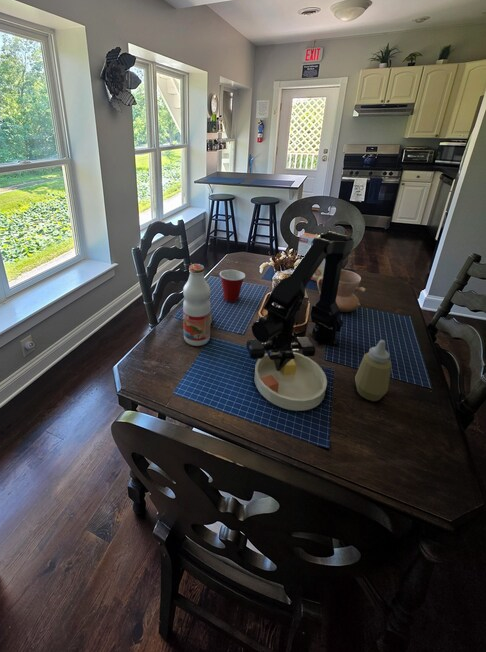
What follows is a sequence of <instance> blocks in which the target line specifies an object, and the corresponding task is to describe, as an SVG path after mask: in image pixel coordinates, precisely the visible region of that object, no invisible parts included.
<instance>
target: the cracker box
mask: <svg viewBox="0 0 486 652" xmlns="http://www.w3.org/2000/svg"><path fill="white" fill-rule="evenodd" d="M316 237H319V234H313V233H308V232H303V233H301V234H300V235H299V239H298V247H297V254H300V255H302V256H304V255H305V254H306V252H307V251H308V250H309V248H310V247H311V243H312V241H313V239H314V238H316ZM324 267H325V259H324V260H323V261H322V263H321V264H320V266H319V267H318V269H317V270H316V272H315V273H314V275H313V276H312V278H311V279H310V281H315V282H317V281H318V278H319V277H321V276H323V273H324ZM321 284H322V280H321Z"/></svg>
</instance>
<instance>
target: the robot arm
mask: <svg viewBox="0 0 486 652" xmlns="http://www.w3.org/2000/svg"><path fill="white" fill-rule="evenodd" d="M318 235H319V237H316V238H314V239H313V241H312V243H311V247H310V248H309V250H308V251H307V252H306V254H305V255H304V257H303V258H302V259H301V261H300V262H299V264H298V265H297V267H296V266H295V268H294V269H293V271H292V272H291V273H290V275H289V276H286V277H284V278H281V280H280V281H278V283H277V284H276V285H275V286H274V287H273V288H272V289H271V291H270V294H269V296H268V297H267V300H266V301H265V303H264V306H263V310H264V311H266V312H267V314H265V315H261V316H260V317H259V318H258V320H257V321H255V322H253V323H252V325H251V332H252V335H253V337H254V338H252V339H250V338H249V339H248V340H247V341H246V350H247V352H248V355H249V358H250V359H252V360H258V359H262V358H263V357H264V356H265V354H266V353H268V356H269V358H270V360H273V361H274V364H275V368H276V370H277V371H280V370H281V369H282V368H283V367H284V366H285V365H286V364H287V363H288V362H289V361H290V360H291V359H295V356H294V354H293V352H299V351H301V354H302V355H304V356H305V357H308V358H309V357H314V356H315V355H316V347H315V344H314V343H313V342H312V340H311V339H310V338H309V337H308V336H297V337H295V334H294V327H295V320H296V314H297V313H298V311H300V310H301V306H302V305H303V300H304V299H305V296H306V287H307V285H308V284H309V282H310V281H311V278H312V276H313V275H314V273H315V272H316V270H317V269H318V267H319V266H320V264H321V263H322V261H323V260H324V259H325V267H324V273H323V280H322V283H321V293H320V292H319V299H318V301H317V302H316V303H314V304H313V305H312V306H311V310H310V321H311V323H314V326H313V327H312V332H311V333H310V334H311V337H312V339H313V340H314V341H315V343H316V344H317V345H319V346H326V345H327V346H329V345H330V346H337V345H338V343H337V341H336V335H337V333H340V332H341V331H342V327H343V324H344V321H343V320H342V319H341V317H340V313H341V312H340V309H339V307H338V305H337V303H336V297H337V291H338V286H339V280H340V274H341V269H342V270H343V263H344V261H345V260H346V259H347V258H348V257H349V256H350V255H351V252H352V250H353V249H354V245H355V242H354V239H353V238H352V236H351V235H348V234H343V233H341V232H336V231H332V230H328V231H327V232H326V233H325V232H324V233H321V234H318ZM274 304H276V305H277V306H276V305H274ZM293 340H294V342H293ZM269 341H270V342H269Z"/></svg>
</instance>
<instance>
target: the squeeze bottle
mask: <svg viewBox="0 0 486 652" xmlns="http://www.w3.org/2000/svg"><path fill="white" fill-rule="evenodd" d="M391 371H392V362H391V360H390V353H389V351H388V350H386V341H385V339H380V340H379V341H378V342H377V344H376V346H372V347H370V348H369V350H368V352H366V353H364V355H363V356H362V359H361V362H360V364H359V366H358V370H357V372H356V373H355V376H354V379H355V380H354V381H355V386H356V391H357V393H358V395H360V397H362V398H364V399H366V400H367V401H371V402H378V401H380V400H381V399H382V398H383V397H384V396H385V395H386V394H387V392H388V390H389V385H390V380H391V379H390V378H391Z"/></svg>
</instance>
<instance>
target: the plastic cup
mask: <svg viewBox="0 0 486 652" xmlns="http://www.w3.org/2000/svg"><path fill="white" fill-rule="evenodd" d="M219 277H220V280H221V286H222V293H223V298H224V300H225V301H226V302H228V303H235V302H237V301H238V299H239V297H240V293H241V289H242V285H243V282H244V280H245V278H246V273H244V272H243V271H240V270H236V269H224V270H220V272H219Z"/></svg>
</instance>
